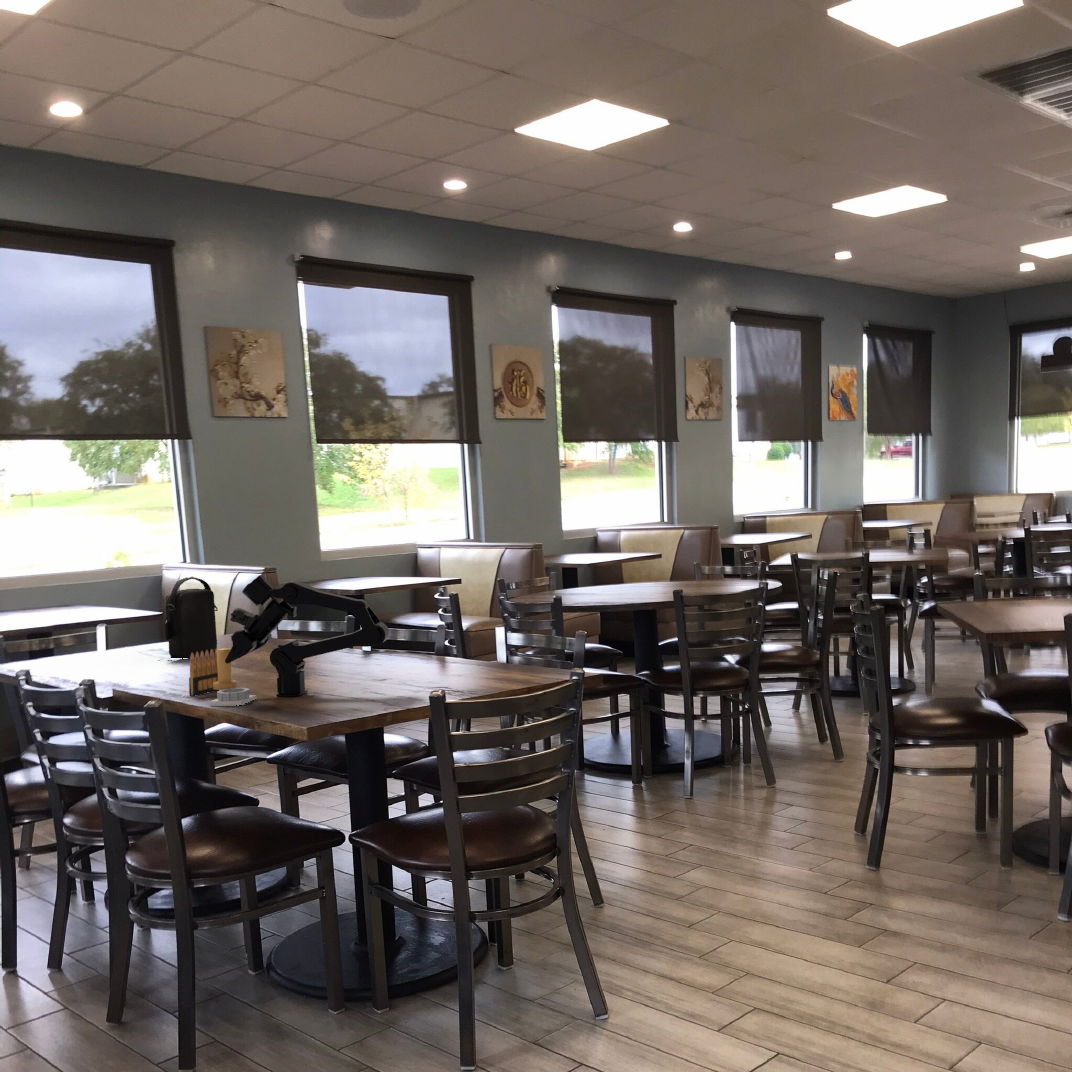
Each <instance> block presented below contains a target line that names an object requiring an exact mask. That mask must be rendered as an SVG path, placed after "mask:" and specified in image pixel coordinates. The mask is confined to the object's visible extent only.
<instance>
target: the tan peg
mask: <svg viewBox="0 0 1072 1072" xmlns="http://www.w3.org/2000/svg"><path fill="white" fill-rule="evenodd" d="M230 650H231V648H229V647H228V648H227V647H226V648H224V647H223V648H217V669H218V681H217V682H214V683H213V689H214V690H223V689H229V688H239V687H238V681H237V680H235V679H233V677H232V676H233V675H232V674H233V673H232V662H230V663H228V664H227V663H226V662H225V659H226V658H227V656H228V654H229V652H230Z"/></svg>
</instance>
